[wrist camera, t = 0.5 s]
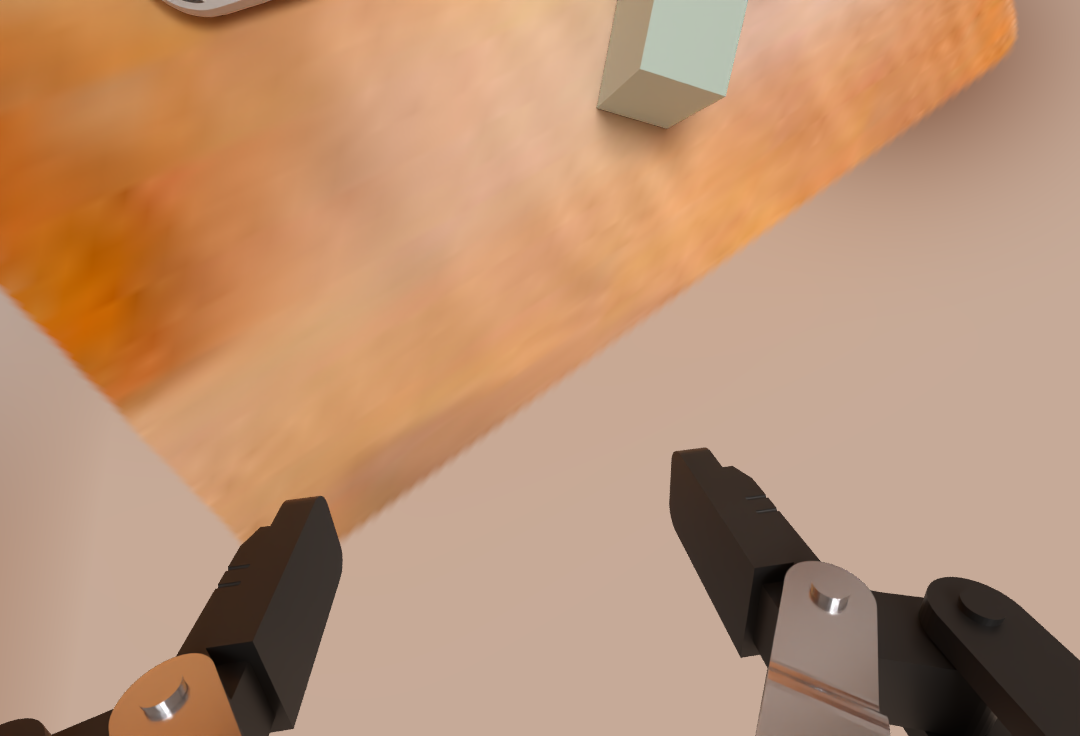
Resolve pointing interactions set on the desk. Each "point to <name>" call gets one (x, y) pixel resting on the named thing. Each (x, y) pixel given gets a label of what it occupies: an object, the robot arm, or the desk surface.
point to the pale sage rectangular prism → (669, 58)
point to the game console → (212, 6)
